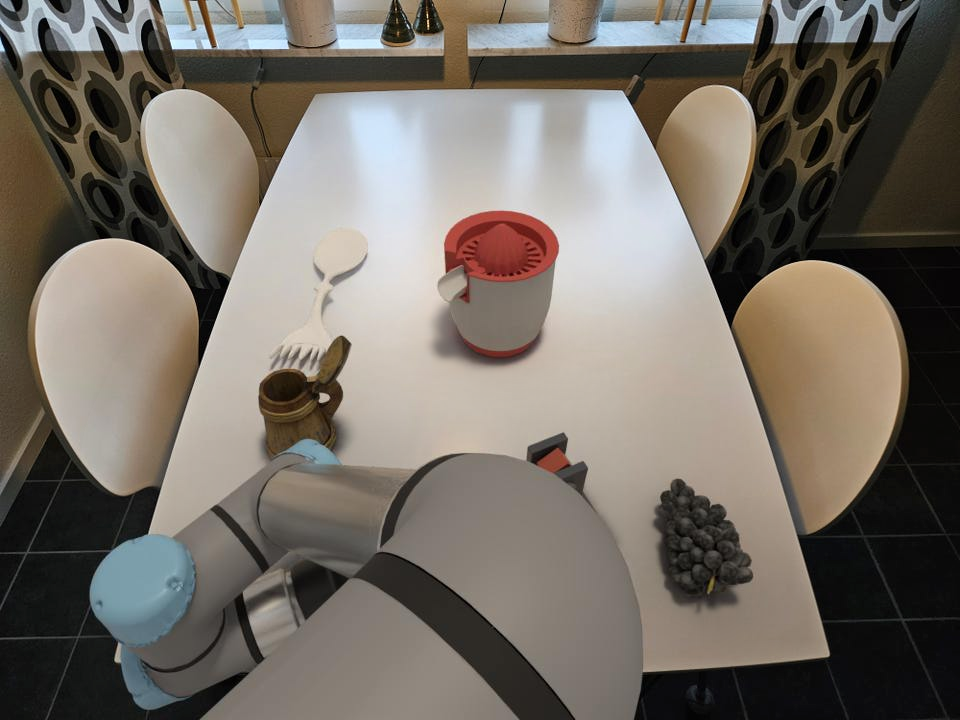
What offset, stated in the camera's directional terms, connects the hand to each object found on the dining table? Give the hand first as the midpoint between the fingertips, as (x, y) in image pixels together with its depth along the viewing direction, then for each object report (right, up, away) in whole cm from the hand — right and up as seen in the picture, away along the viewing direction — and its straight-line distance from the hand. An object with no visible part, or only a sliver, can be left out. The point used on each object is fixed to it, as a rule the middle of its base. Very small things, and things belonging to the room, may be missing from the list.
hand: (498, 517), depth 70 cm
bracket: (+6, -3, +7) cm, 10 cm away
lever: (+2, +2, -1) cm, 3 cm away
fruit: (+23, -5, +6) cm, 24 cm away
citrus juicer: (0, +21, +30) cm, 36 cm away
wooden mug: (-23, +6, +16) cm, 29 cm away
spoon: (-27, +27, +35) cm, 52 cm away
